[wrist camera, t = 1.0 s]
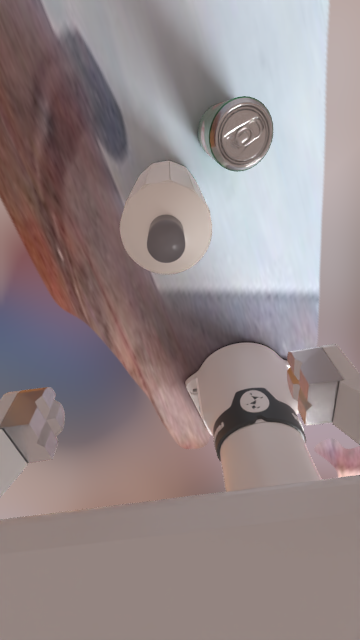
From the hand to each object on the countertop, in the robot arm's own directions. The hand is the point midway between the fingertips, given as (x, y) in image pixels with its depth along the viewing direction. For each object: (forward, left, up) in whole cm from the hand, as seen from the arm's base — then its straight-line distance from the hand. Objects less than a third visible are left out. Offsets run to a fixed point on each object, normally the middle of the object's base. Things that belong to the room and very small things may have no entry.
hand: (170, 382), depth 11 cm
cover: (0, 0, -31) cm, 31 cm away
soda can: (+5, -7, -31) cm, 33 cm away
